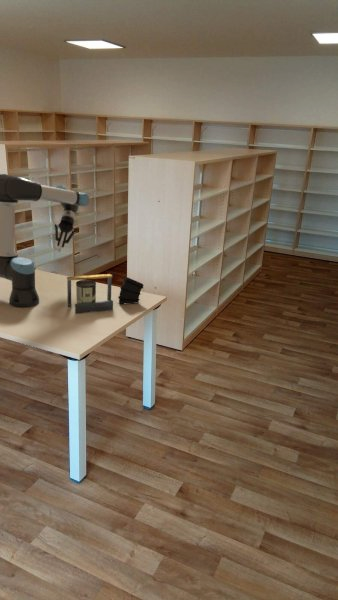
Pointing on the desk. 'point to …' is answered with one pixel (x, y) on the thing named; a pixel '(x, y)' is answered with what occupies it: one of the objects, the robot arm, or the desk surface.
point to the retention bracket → (91, 305)
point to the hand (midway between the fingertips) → (59, 250)
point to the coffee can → (85, 291)
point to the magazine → (130, 291)
